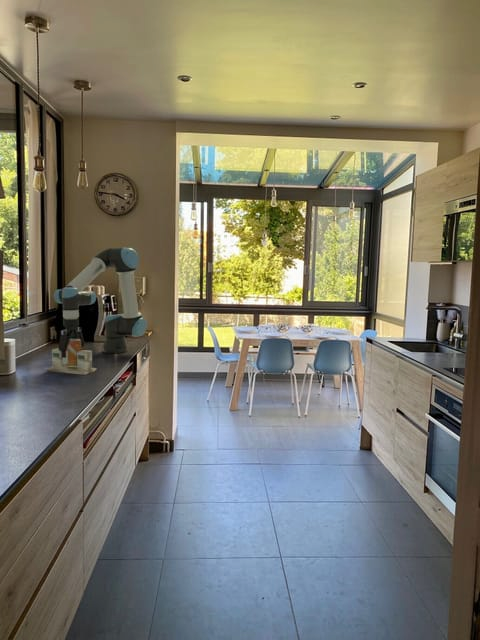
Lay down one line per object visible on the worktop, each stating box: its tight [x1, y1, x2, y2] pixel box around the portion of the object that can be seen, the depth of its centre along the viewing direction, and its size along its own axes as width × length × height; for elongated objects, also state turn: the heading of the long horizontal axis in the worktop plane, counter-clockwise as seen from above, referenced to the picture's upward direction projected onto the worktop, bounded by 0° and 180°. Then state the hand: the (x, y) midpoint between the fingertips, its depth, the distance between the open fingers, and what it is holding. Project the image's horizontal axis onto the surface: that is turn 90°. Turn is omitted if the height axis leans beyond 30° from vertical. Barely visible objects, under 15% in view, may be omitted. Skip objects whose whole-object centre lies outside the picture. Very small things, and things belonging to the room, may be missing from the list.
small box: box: [63, 338, 82, 366], centre depth 224 cm, size 8×6×13 cm
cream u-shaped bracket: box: [47, 347, 98, 375], centre depth 225 cm, size 10×22×11 cm, turn 73°
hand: (72, 361), depth 225 cm, fingers closed on small box, 10 cm apart
